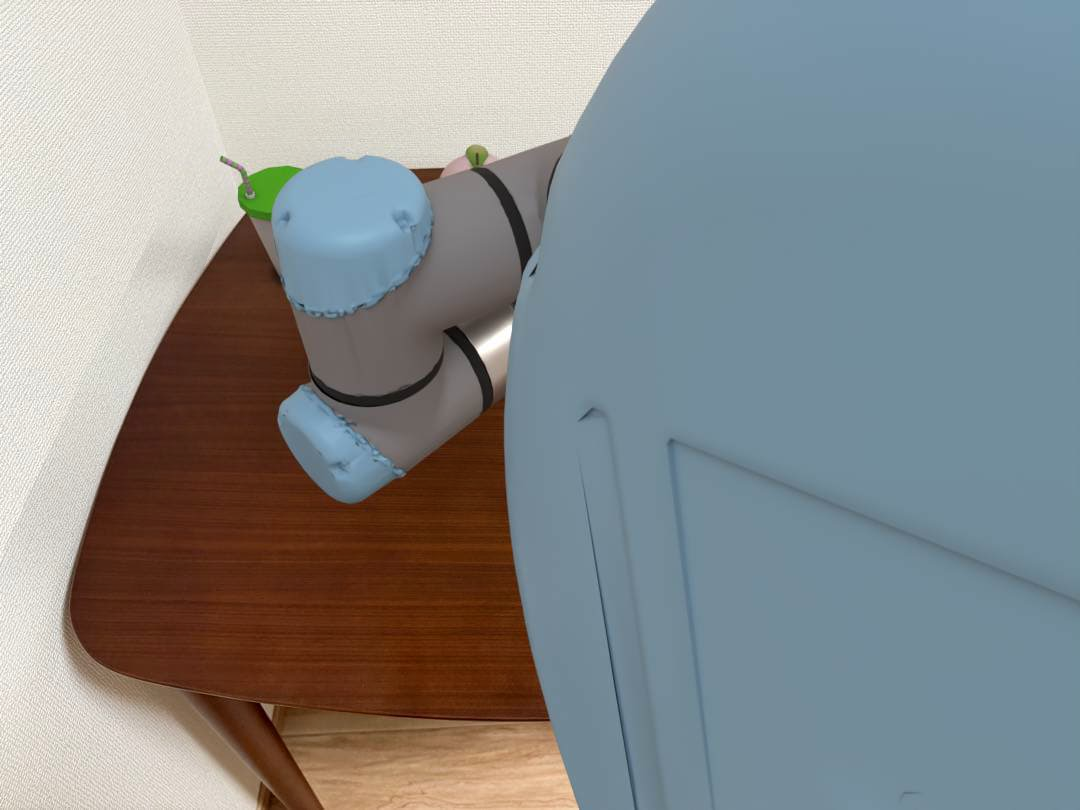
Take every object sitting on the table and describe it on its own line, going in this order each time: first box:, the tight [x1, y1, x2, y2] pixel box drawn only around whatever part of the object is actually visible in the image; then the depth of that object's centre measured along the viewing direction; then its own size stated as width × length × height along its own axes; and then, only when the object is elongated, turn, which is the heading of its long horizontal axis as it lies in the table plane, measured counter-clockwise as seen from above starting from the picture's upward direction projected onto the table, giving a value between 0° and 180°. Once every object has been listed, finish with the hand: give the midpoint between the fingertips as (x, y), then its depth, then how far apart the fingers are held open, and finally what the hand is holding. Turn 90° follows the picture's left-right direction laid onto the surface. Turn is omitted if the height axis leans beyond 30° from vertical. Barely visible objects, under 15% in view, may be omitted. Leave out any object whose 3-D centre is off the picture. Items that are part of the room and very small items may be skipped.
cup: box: [219, 155, 304, 278], centre depth 82 cm, size 8×8×15 cm
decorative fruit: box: [439, 144, 500, 179], centre depth 89 cm, size 9×8×10 cm
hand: (710, 185), depth 65 cm, fingers closed on can, 6 cm apart
